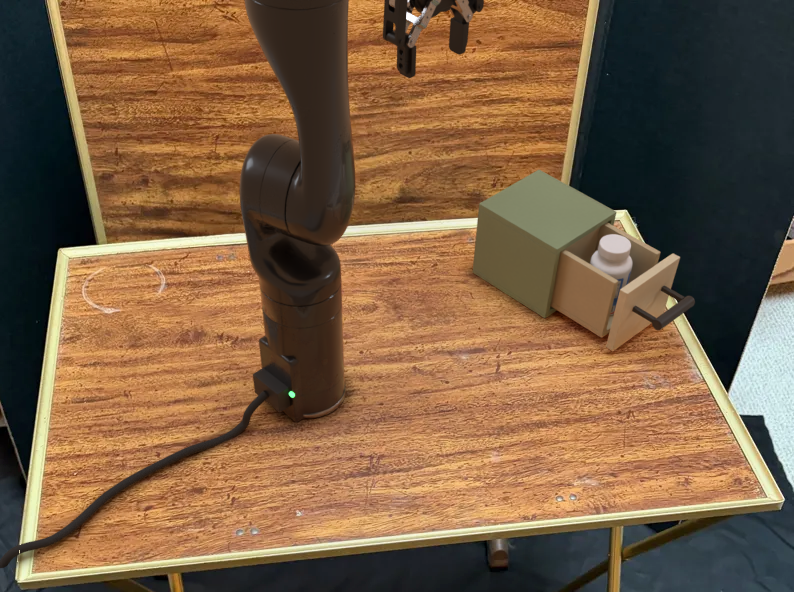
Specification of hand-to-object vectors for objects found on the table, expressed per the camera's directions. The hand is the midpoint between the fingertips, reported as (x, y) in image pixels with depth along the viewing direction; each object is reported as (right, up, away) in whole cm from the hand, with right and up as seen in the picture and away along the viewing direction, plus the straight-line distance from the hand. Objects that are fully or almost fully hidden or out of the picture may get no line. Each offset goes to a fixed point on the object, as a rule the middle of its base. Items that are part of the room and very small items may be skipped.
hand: (432, 63), depth 117 cm
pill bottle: (+23, -26, +13) cm, 38 cm away
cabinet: (+16, -20, +20) cm, 33 cm away
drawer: (+25, -28, +13) cm, 40 cm away
